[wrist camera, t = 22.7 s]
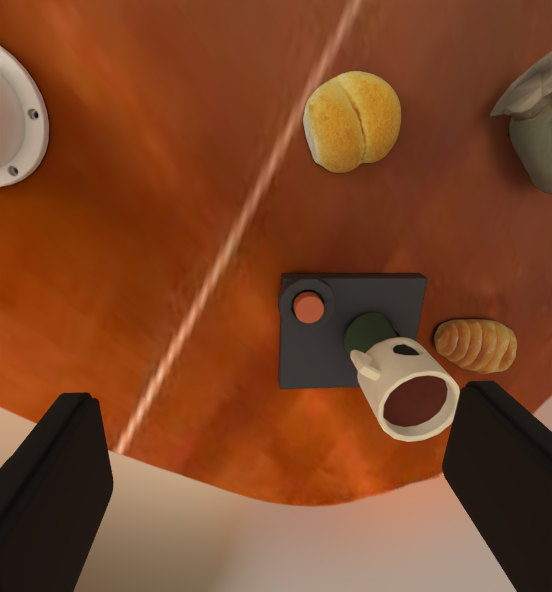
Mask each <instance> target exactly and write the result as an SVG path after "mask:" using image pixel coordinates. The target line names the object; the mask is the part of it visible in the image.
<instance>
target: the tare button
mask: <svg viewBox="0 0 552 592" xmlns="http://www.w3.org/2000/svg"><path fill="white" fill-rule="evenodd" d="M293 308H294V311H295V314H296V316H297V318H298V319H299V320H300V321H302V322H304V323H313V322H316V321H317V320H319V319H320V318H321V317H322V315H323V312H324V305H323V303H322V301H321V299H320V298H319V296H318V295H317V294H315V293H313V292H303V293H301V294H299V295H298V296H297V297H296V298H295V300H294V304H293Z"/></svg>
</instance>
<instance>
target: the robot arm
mask: <svg viewBox="0 0 552 592" xmlns="http://www.w3.org/2000/svg"><path fill="white" fill-rule="evenodd" d="M37 113H38V114H39V115H38V118H37V117H36V114H37ZM48 141H49V121H48V114H47V110H46V107H45V103H44V100H43V97H42V95H41V93H40V91H39V89H38V87H37V85H36V83H35V82H34V80H33V79H32V77H31V76H30V74H29V73H28V72H27V70H26V69H25V68H24V67H23V65H22V64H21V63H20V62H19V61H18V60H17V59H16V58H15V57H14V56H13V55H12V54H10V53H9V52H8V51H7V50H5V49H4V48H3V47H1V46H0V187H2V186H8V185H12V184H14V183H17V182H19V181H22V180H23V179H25V178H26V177H28V176H29V175H30V174H32V173H33V172H34V170H35V169H36V168H37V167H38V166H39V165H40V163H41V161H42V159H43V157H44V155H45V153H46V149H47V145H48ZM16 169H17V170H18V173H17V171H16ZM442 469H443V474H444V476H445V478H446V480H447V482H448V483H449V485H450V486H451V488H452V490H453V491H454V493H455V494H456V496H457V498H458V499H459V501H460V502H461V504H462V505H463V507H464V509H465V510H466V512H467V513H468V515H469V516H470V518H471V520H472V521H473V523H474V524H475V526H476V528H477V529H478V531H479V532H480V534H481V536H482V537H483V539H484V540H485V542H486V543H487V545H488V546H489V548H490V550H491V551H492V553H493V555H494V556H495V557H496V559H497V561H498V562H499V564H500V565H501V567H502V569H503V570H504V572H505V573H506V575H507V577H508V578H509V580H510V581H511V583H512V584H513V586H514V588H515V589H516V591H517V592H552V432H551V431H550V430H549V429H548V428H547V427H546V426H544V425H543V424H542V423H541V422H540V421H539V420H538V419H537V418H535V417H534V416H533V415H532V414H531V413H530V412H529V411H528V410H526V409H525V408H524V407H523V406H522V405H521V404H520V403H518V402H517V401H516V400H515V399H514V398H513V397H512V396H510V395H509V394H508V393H507V392H506V391H505V390H504V389H503V388H501V387H500V386H499V385H498V384H497V383H495V382H494V381H471V382H468V383H467V384H466V387H463V388H462V389H461V391H460V394H459V398H458V402H457V406H456V411H455V415H454V419H453V423H452V427H451V431H450V435H449V439H448V443H447V447H446V451H445V455H444V459H443V464H442ZM112 491H113V476H112V470H111V465H110V460H109V454H108V449H107V443H106V438H105V432H104V427H103V422H102V416H101V411H100V405H99V401H98V400H97V399H96V398H92V397H91V395H90V394H89V393H63V394H61V395H60V396H59V397H58V398H57V399H56V401H55V402H54V403H53V405H52V406H51V407H50V408H49V410H48V411H47V412H46V413H45V415H44V416H43V417H42V418H41V420H40V421H39V422H38V423H37V425H36V426H35V427H34V429H33V430H32V431H31V432H30V434H29V435H28V436H27V437H26V439H25V440H24V441H23V442H22V444H21V445H20V446H19V448H18V449H17V450H16V451H15V453H14V454H13V455H12V456H11V457H10V458H9V459H8V460H7V461H6V462H5V463H4V464H3V466H2V467H1V468H0V592H73V591H74V589H75V586H76V583H77V581H78V578H79V576H80V573H81V571H82V568H83V566H84V563H85V561H86V558H87V556H88V553H89V551H90V548H91V546H92V543H93V541H94V538H95V536H96V533H97V531H98V528H99V526H100V523H101V521H102V518H103V516H104V513H105V511H106V508H107V506H108V503H109V501H110V498H111V495H112Z"/></svg>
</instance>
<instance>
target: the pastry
mask: <svg viewBox="0 0 552 592" xmlns="http://www.w3.org/2000/svg"><path fill="white" fill-rule="evenodd" d="M434 343H435V346H436V350H437V352H438V353H439V354H441V355H442V356H444V357H445V358H446V359H447V360H448V361H451V362H453V363H455V364H456V365H458V366H459V367H460V368H463V369H466V370H472V371H476V372H477V373H478V374H489V373H490V372H498V371H500V372H502V371H504V370H506V369H507V368H508V367H509V366H510V365H511V364H512V362H513V361H514V359H515V357H516V349H517V340H516V338H515V335H514V332H513V331H512V330H511V329H509V328H507V327H505V326H504V325H503V324H501V323H500V322H497V321H491V320H487V319H459V320H451V321H448V322H445V323H442V324H441V325H440V326H439V327H438V329H437V331H436V333H435V335H434Z"/></svg>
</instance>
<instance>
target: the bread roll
mask: <svg viewBox="0 0 552 592" xmlns="http://www.w3.org/2000/svg"><path fill="white" fill-rule="evenodd" d="M303 123H304V129H305V134H306V139H307V142H308V144H309V148H310V150H311V153H312V156H313V159H314V160H315V162H316V163H317V164H319V165H321V166H323V167H324V168H326V169H327V170H329V171H331V172H336V173H344V172H348V171H351V170H353V169H355V168H356V167H357V166H358V165H359V164H361V163H372V162H376V161H379V160H381V159H382V158H384V157H385V156H386V155H387V154H388V153H389V151H390V150H391V148H392V147H393V145H394V143H395V142H396V140H397V137H398V134H399V129H400V123H401V107H400V102H399V99H398V97H397V95H396V93H395V91H394V90H393V89H392V87H391V86H390V85H389V84H388V83H387V82H385V81H384V80H383V79H381V78H379V77H378V76H376V75H373V74H370V73H365V72H361V71H352V72H347V73H343V74H340V75H338V76H337V77H335V78H333V79H331V80H328V81H327V82H326V83H324V84H322V85H321V86H320V87H319V88H318V89H317V90H316V91H315V92H314V93H313V94H312V95H311V97H310V98H309V99H308V101H307V103H306V108H305V112H304V117H303Z"/></svg>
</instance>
